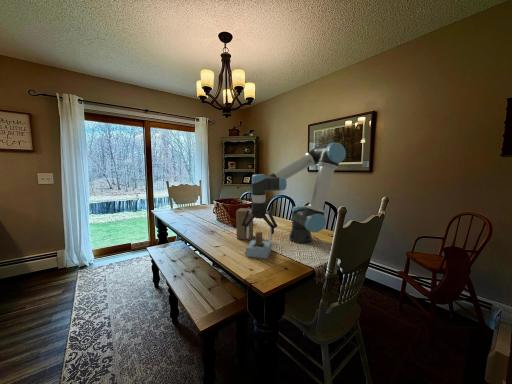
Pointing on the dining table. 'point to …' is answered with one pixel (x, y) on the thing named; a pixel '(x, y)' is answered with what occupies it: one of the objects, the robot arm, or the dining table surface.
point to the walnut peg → (259, 239)
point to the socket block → (258, 249)
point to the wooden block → (239, 220)
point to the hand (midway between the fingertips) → (259, 238)
